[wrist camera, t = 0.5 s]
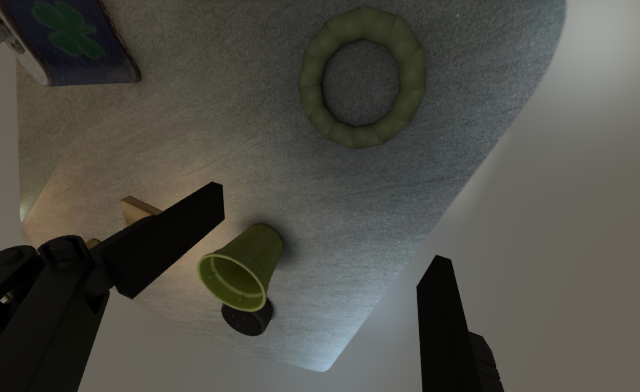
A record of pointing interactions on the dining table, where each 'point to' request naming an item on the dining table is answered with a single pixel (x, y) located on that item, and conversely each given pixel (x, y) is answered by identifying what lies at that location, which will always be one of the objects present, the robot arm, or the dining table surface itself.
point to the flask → (66, 42)
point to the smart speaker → (248, 319)
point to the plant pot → (242, 268)
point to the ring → (401, 47)
